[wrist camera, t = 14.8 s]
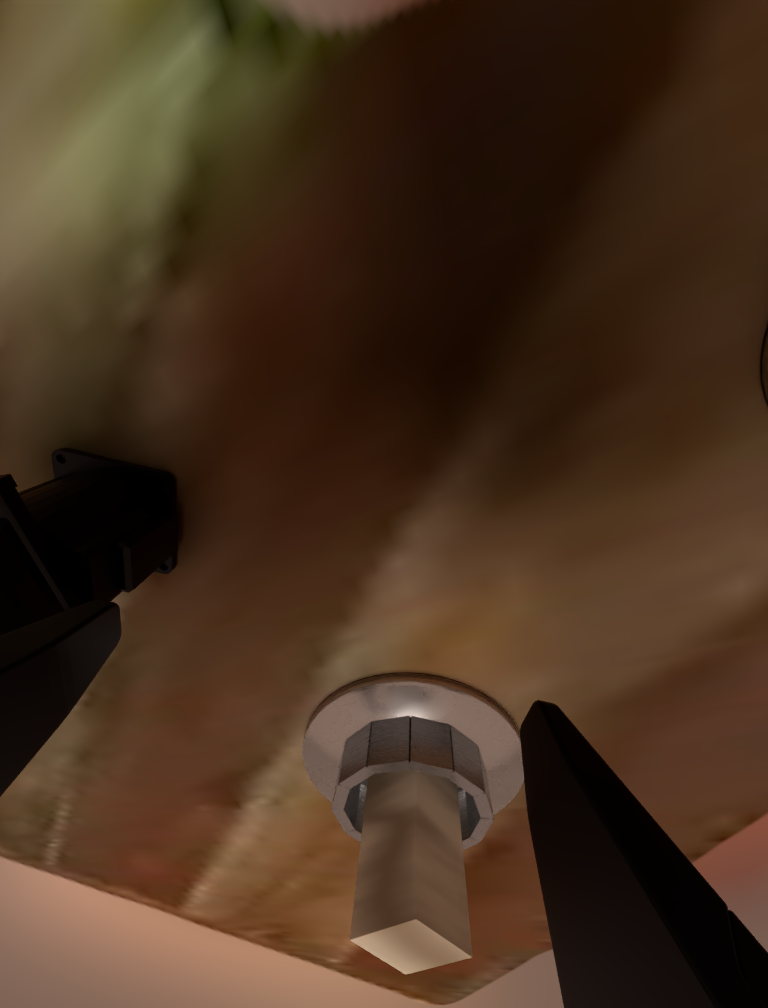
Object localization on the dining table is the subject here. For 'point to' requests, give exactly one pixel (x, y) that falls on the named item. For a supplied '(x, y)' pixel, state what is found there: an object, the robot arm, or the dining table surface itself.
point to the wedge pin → (411, 873)
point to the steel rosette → (414, 745)
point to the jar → (765, 367)
